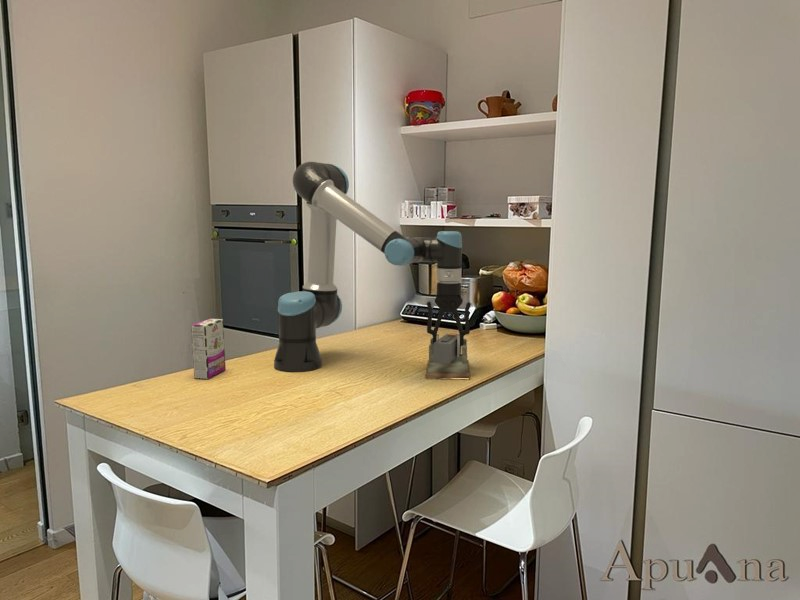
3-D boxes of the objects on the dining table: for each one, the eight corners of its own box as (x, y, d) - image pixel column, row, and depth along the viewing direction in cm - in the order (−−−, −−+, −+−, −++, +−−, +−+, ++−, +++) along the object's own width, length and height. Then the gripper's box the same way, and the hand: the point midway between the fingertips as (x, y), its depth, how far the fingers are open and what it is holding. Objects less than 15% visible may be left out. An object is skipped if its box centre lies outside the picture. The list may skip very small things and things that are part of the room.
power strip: (433, 362, 186) (433, 341, 185) (446, 351, 201) (446, 332, 200) (449, 364, 184) (449, 342, 184) (461, 352, 199) (461, 333, 199)
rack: (425, 378, 184) (425, 349, 183) (428, 362, 204) (428, 335, 203) (469, 379, 183) (469, 350, 182) (468, 363, 203) (468, 336, 201)
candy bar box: (211, 369, 194) (209, 318, 192) (226, 370, 193) (224, 318, 191) (192, 379, 183) (190, 324, 181) (208, 380, 182) (205, 325, 180)
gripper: (417, 282, 187) (417, 357, 190) (480, 283, 185) (478, 359, 188) (419, 280, 194) (418, 352, 197) (479, 281, 192) (477, 354, 196)
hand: (447, 355), depth 193 cm, fingers closed on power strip, 6 cm apart
